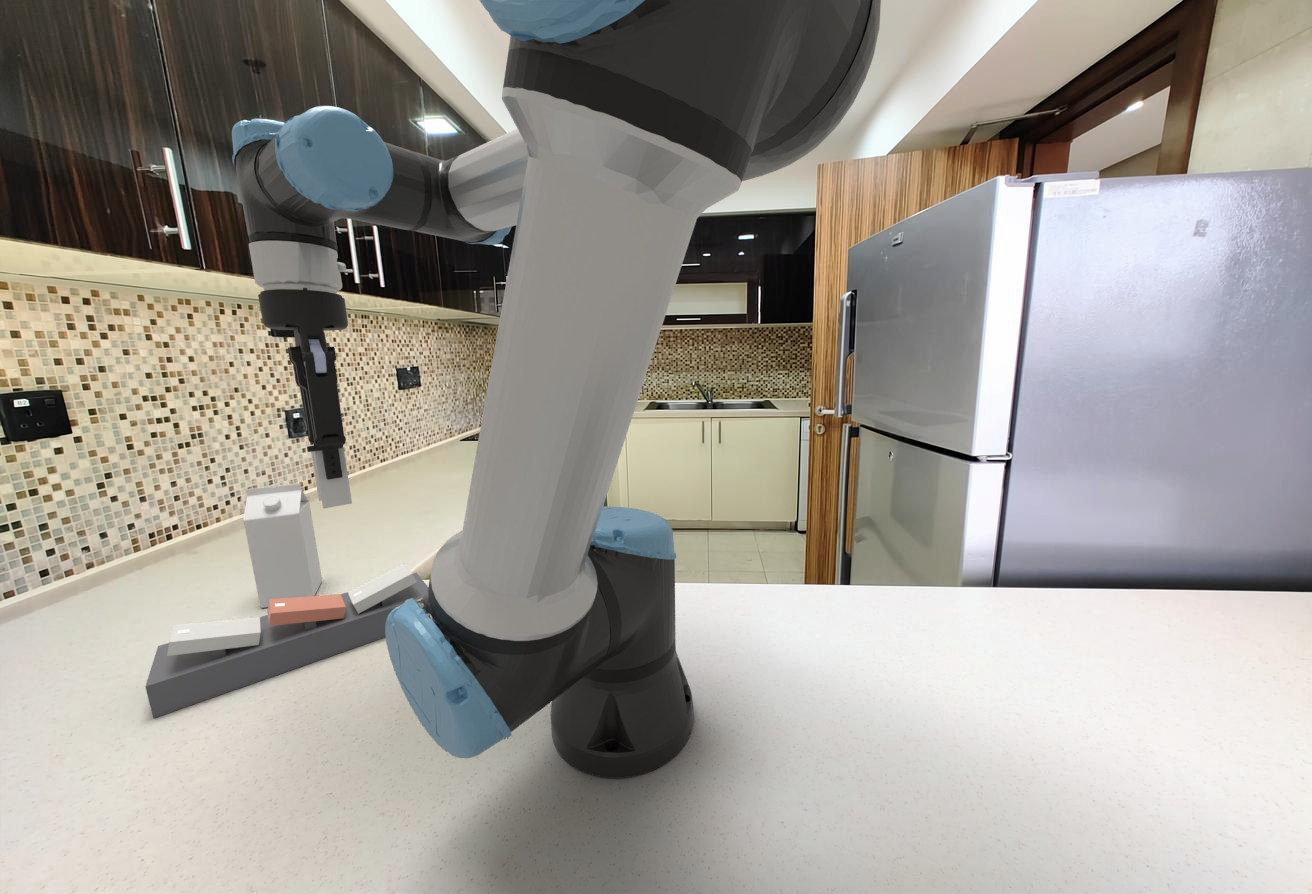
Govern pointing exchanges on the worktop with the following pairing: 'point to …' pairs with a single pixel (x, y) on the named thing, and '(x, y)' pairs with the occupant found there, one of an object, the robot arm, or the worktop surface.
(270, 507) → the milk carton
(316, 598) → the rocker red
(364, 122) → the robot arm
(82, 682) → the worktop surface
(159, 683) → the dark grey switch base
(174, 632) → the grey rocker
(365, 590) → the grey rocker
